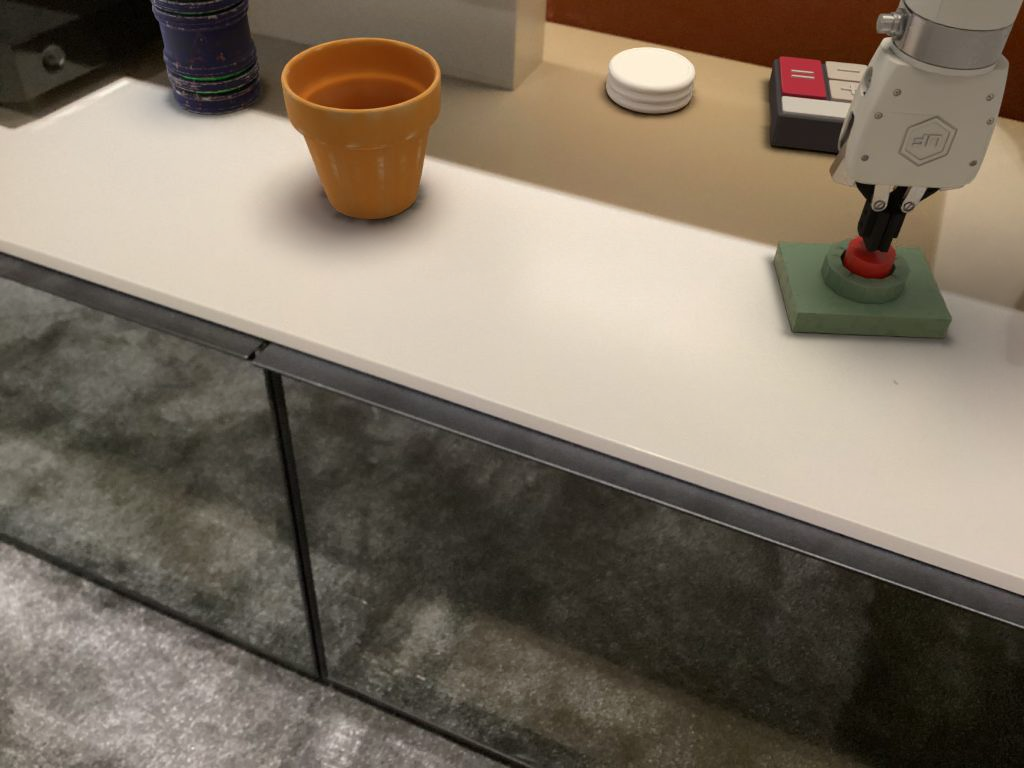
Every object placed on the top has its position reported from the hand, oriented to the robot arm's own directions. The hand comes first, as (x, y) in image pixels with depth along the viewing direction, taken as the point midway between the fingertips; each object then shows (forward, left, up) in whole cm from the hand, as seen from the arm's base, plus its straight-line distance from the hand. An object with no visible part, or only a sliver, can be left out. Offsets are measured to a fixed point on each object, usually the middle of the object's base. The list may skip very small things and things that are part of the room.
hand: (873, 242), depth 82 cm
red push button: (0, 0, -3) cm, 3 cm away
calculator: (-3, -32, -6) cm, 33 cm away
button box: (0, 0, -6) cm, 6 cm away
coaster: (+16, -36, -6) cm, 40 cm away
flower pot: (+45, -13, -6) cm, 47 cm away
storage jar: (+65, -32, -6) cm, 73 cm away
